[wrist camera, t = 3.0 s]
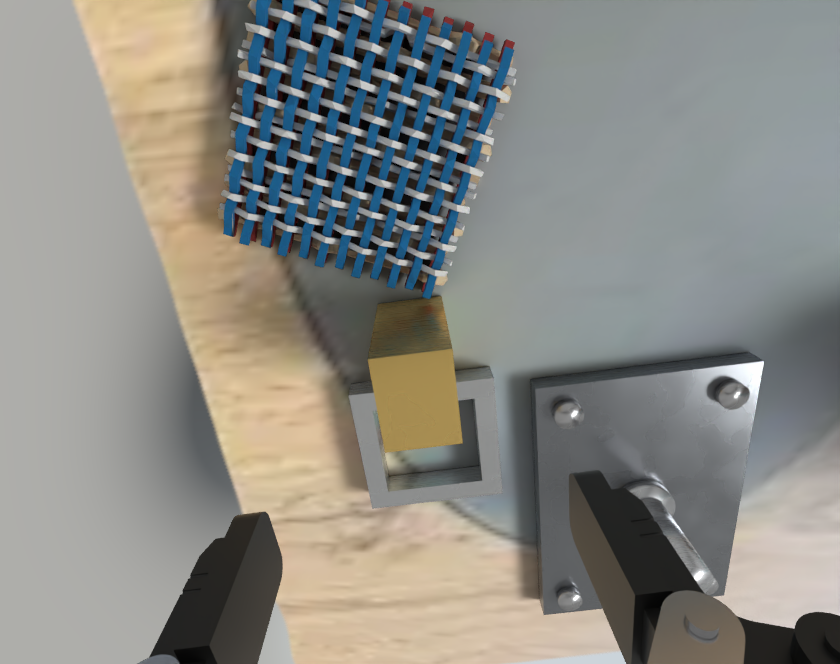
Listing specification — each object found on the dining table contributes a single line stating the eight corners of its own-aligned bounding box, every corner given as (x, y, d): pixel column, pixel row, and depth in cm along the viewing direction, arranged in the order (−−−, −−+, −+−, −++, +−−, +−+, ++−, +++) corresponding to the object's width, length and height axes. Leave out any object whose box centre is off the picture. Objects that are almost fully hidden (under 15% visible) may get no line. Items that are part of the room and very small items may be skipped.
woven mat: (525, 49, 19) (538, 39, 17) (440, 292, 22) (443, 306, 21) (263, -52, 17) (246, -75, 15) (220, 226, 21) (202, 235, 19)
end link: (335, 309, 22) (311, 366, 17) (483, 290, 22) (509, 341, 16) (374, 492, 26) (364, 587, 21) (498, 478, 26) (522, 570, 21)
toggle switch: (530, 379, 24) (567, 452, 18) (749, 352, 23) (855, 418, 18) (539, 600, 30) (569, 705, 24) (713, 580, 30) (784, 683, 24)
